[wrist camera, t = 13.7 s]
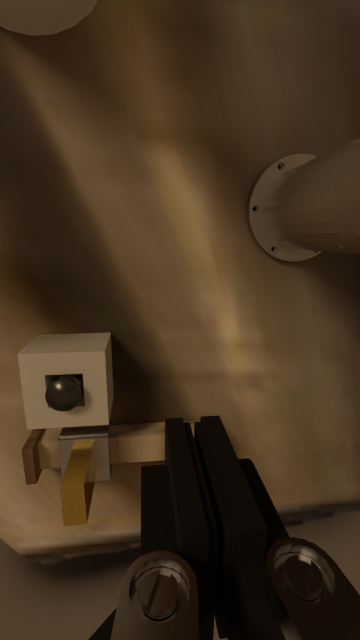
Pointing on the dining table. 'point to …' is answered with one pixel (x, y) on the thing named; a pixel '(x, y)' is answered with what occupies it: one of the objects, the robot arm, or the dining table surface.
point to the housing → (67, 358)
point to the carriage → (82, 468)
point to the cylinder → (43, 15)
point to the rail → (123, 441)
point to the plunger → (64, 392)
